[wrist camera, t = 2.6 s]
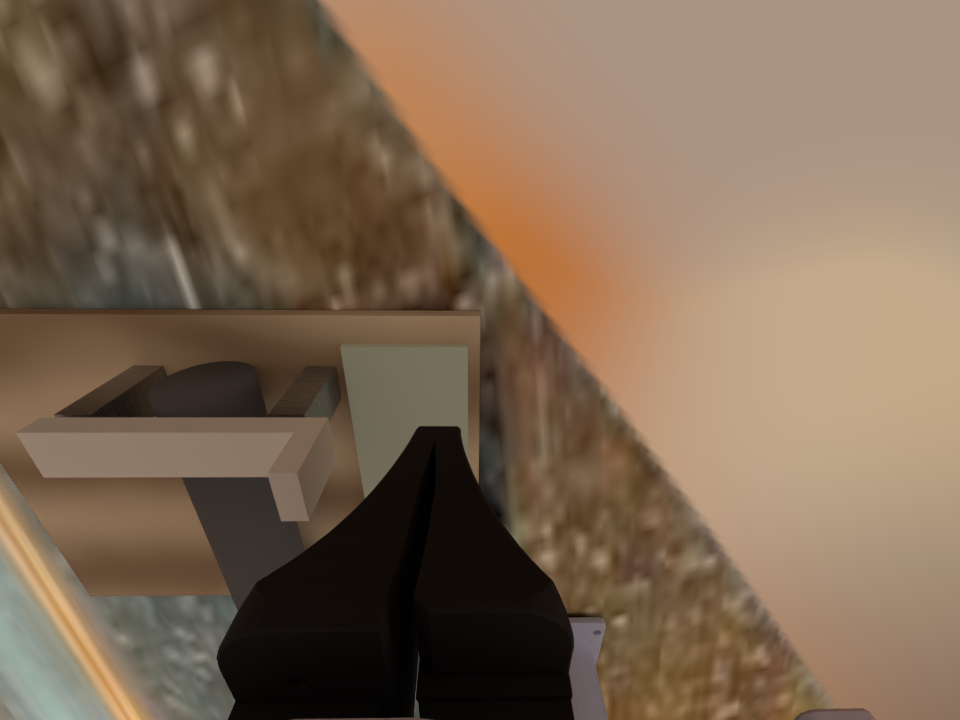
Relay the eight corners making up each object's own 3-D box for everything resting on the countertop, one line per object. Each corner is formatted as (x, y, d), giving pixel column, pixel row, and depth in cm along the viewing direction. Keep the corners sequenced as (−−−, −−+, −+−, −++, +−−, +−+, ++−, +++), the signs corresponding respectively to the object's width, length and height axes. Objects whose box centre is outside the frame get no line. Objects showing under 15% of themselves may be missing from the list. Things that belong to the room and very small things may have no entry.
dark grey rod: (328, 586, 23) (298, 652, 20) (270, 580, 23) (232, 644, 20) (273, 363, 16) (216, 410, 13) (194, 359, 17) (121, 404, 14)
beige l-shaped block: (336, 460, 14) (309, 521, 12) (65, 461, 14) (-17, 522, 12) (328, 417, 13) (297, 473, 11) (40, 417, 13) (-53, 474, 11)
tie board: (477, 583, 24) (477, 660, 20) (99, 585, 24) (30, 665, 20) (480, 310, 16) (482, 356, 13) (-81, 308, 16) (-247, 354, 12)
